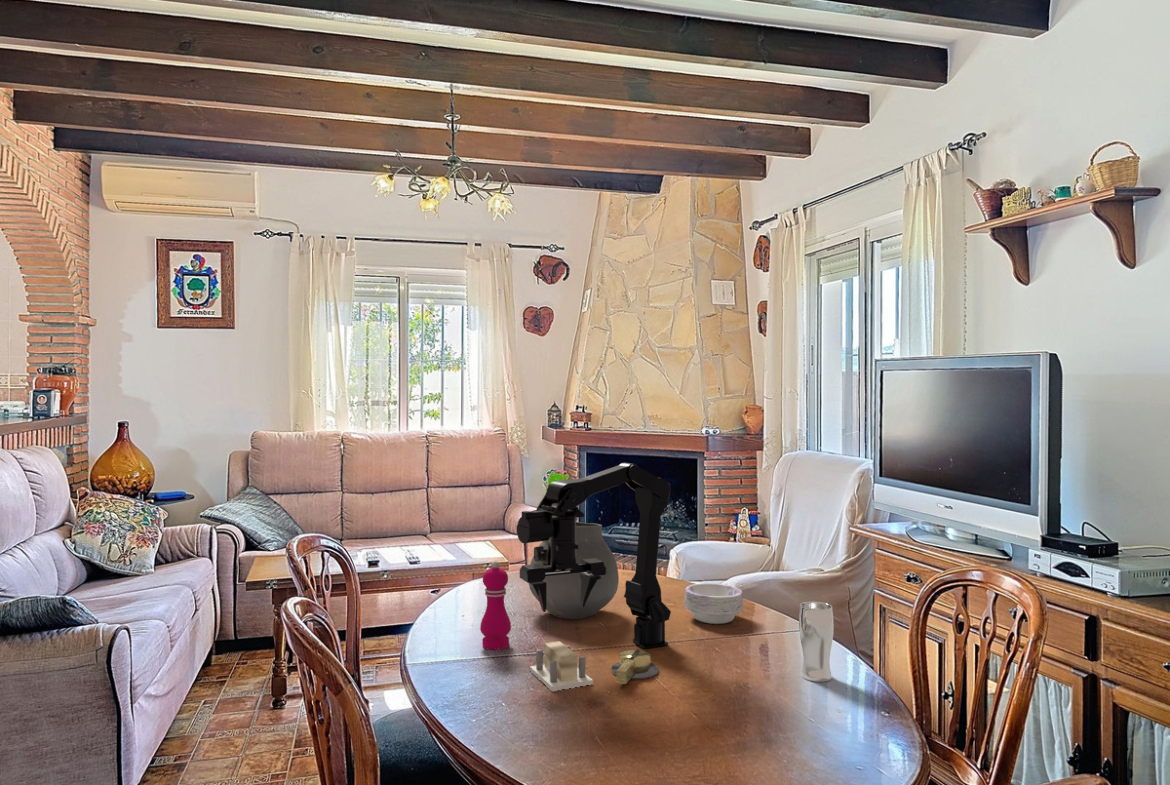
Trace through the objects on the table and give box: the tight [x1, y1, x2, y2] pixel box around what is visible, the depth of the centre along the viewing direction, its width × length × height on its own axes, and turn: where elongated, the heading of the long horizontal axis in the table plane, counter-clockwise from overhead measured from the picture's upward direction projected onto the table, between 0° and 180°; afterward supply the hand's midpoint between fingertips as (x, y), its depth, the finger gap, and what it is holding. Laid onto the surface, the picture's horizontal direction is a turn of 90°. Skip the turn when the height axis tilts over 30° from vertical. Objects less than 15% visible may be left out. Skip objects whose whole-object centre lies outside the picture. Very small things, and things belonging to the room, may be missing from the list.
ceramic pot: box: [528, 521, 620, 620], centre depth 214 cm, size 24×24×25 cm
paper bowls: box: [684, 582, 744, 625], centre depth 209 cm, size 15×15×8 cm
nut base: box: [611, 662, 659, 680], centre depth 170 cm, size 10×10×1 cm
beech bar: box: [543, 640, 578, 682], centre depth 167 cm, size 10×4×5 cm, turn 23°
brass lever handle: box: [615, 648, 651, 685], centre depth 167 cm, size 14×7×3 cm, turn 161°
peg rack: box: [529, 644, 594, 692], centre depth 167 cm, size 13×9×5 cm
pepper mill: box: [479, 560, 512, 651], centre depth 188 cm, size 7×7×20 cm
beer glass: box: [798, 601, 835, 683], centre depth 166 cm, size 7×7×15 cm
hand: (563, 609), depth 176 cm, fingers open, 9 cm apart
